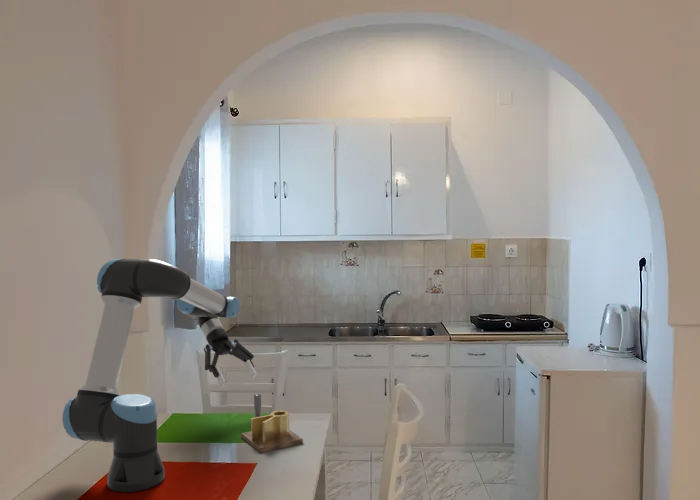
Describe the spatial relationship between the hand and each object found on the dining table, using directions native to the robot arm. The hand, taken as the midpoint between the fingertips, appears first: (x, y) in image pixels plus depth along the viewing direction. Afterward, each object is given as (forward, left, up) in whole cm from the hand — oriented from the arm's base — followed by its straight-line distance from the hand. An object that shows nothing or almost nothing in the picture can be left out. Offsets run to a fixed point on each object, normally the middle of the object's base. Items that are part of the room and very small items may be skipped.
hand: (239, 379), depth 216 cm
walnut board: (+2, -23, -15) cm, 28 cm away
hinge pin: (+3, -10, -15) cm, 19 cm away
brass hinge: (+2, -25, -14) cm, 29 cm away
